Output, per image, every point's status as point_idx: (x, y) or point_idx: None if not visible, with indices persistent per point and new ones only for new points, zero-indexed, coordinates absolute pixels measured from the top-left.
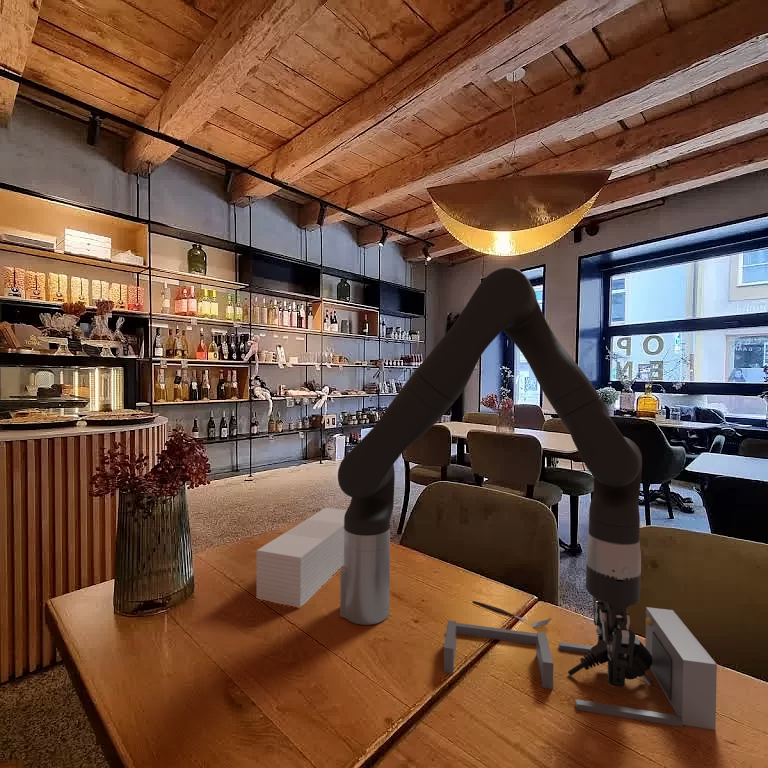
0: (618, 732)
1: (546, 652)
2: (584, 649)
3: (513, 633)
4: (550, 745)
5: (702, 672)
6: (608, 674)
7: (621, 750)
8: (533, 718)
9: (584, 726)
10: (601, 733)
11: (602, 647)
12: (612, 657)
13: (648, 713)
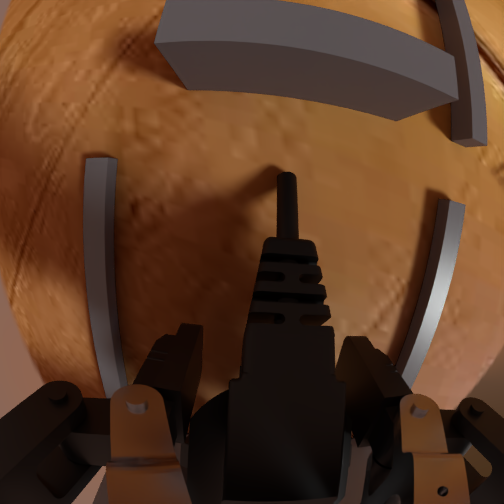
0: (46, 264)
1: (263, 22)
2: (428, 293)
3: (461, 37)
4: (8, 85)
5: None
6: (179, 340)
7: (9, 247)
8: (69, 38)
9: (45, 171)
10: (34, 214)
11: (271, 401)
12: (51, 407)
13: (108, 375)
